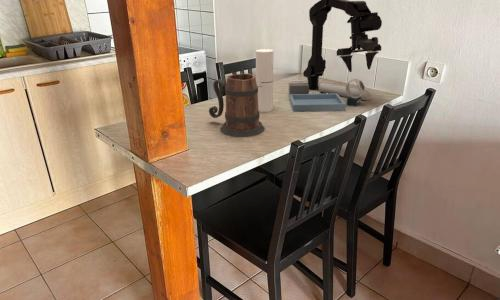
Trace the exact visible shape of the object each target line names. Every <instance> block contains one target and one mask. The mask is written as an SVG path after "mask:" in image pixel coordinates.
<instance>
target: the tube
mask: <svg viewBox="0 0 500 300" xmlns="http://www.w3.org/2000/svg"><path fill="white" fill-rule="evenodd" d="M318 86H319V89H318V92H319V93H320V92H322V93H321V94H326V93H328V94H338V95H339V96H340V97H345V98H348V97H350V96H349V95H348V94H347V91H346V85H345V86H343V85H338V84H334V83H327V82H320V84H319V85H318ZM349 89H350V92H351V94H352V95H353V96H360V95H361V92H360V91H359V89H358V87H357V88H356V87H350V86H349ZM360 97H361V101H369V99H371V92H370V91H369V90H368V89H365V91H364V93H363V94H362V95H361V96H360Z"/></svg>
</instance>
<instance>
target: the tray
mask: <svg viewBox="0 0 500 300" xmlns="http://www.w3.org/2000/svg"><path fill="white" fill-rule="evenodd" d="M288 99H289V100H288V101H289V103H290V106H291V108H292V110H291V111H292V112H293V113H297V112H299V113H300V112H301V113H302V112H307V113H308V112H346V106H347V103H346V102H345V101H344V100H343V99H342V96H339V95H338V94H326V93H309V94H290V98H289V97H288Z"/></svg>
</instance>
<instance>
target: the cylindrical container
mask: <svg viewBox="0 0 500 300" xmlns="http://www.w3.org/2000/svg"><path fill="white" fill-rule="evenodd" d="M255 78H256V83H257V86H258V111H259V113H260V112H261V113H266V112H267V113H269V112H271V111H273V109H274V49H271V48H269V49H268V48H261V49H256V50H255Z"/></svg>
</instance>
